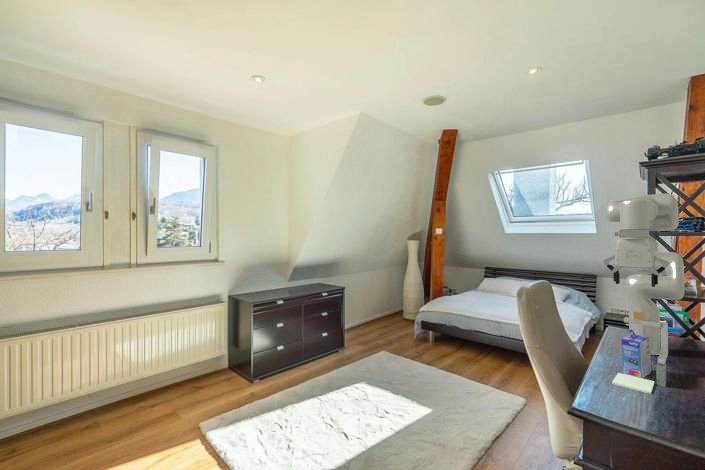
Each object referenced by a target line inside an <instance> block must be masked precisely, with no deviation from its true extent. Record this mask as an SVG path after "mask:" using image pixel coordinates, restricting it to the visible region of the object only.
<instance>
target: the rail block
mask: <svg viewBox="0 0 705 470" xmlns="http://www.w3.org/2000/svg"><path fill="white" fill-rule="evenodd" d="M655 366H656V367H655V369H656V370H655V373H656V375H655V376H656V378H655V379H656V381H655V383H656V386H659V387H666V386H667V364H666V363H665V364H660V363H658V361H657V362H656V365H655Z"/></svg>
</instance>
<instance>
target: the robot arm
mask: <svg viewBox="0 0 705 470" xmlns="http://www.w3.org/2000/svg"><path fill="white" fill-rule="evenodd" d="M605 216H606V219H607V220H608V222H611V223H619V231H615V232H614V236H616V237H619V238H618V239H617V240H616V242H615V243H616V244H615V250H614V251H615V252H614V255H612V256H610V257H607V258H605V259H603V260H602V261H603V263H604V265H605V266H606V267H607V268H608V269H609V270H610V271H611V272H612V273H613V275H612V276H613V282H615V285H619V284H620V283H621V281H620V279H621V277H620V276H621V275H620V272H619V271H620V270H621V268H628V269H629V268H630V269H632V271H633V272H636V273H635V274H631V275H628V276H627V277H626V279H625V289H626V292H627V293H626V294H627V299H628V318H634V314H633V312H642V313H644V315H645V320H650V321H657V322H661V319H660V316H661V314H660V312H661V311H660V308H659V306H658V305H657V304H656V303H655V302H654V301H652V299H656V300H657V299H659V300H670V301H679V300H681V299H683V298H684V296H685V287H686V286H685V269H684V268H685V265H684V260H683V257H682V255H681V254H679V253H677V252H674V251H659V242H658V241H657V240H656V239H655V238H654V237H653V236H651V235H650V232H664V231H665V232H666V231H668V232H669V231H674V230H676V229H677V228H678V227H679V223H680V215H679V203H678V200H677V198H676V197H675V195H674V194H672V193H656V194H655V193H654V194H645V195H644V194H641V195H637V196H635V197H631V198H627V199H621V200H615V201H611V202H609V203H608V205H607V206H606V210H605ZM612 261H614V264H615V266H613V265H612V264H611V262H612ZM631 329H632V330H633V332H634V333H635V335H639V336H645V337H649V343H650V356H655V355H659V354H660V351H661V327H654V326H647V325H640V324H633V323H628V330H631ZM633 332H631V334H633ZM628 335H630V334H629V333H628Z"/></svg>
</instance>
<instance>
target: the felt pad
mask: <svg viewBox="0 0 705 470" xmlns="http://www.w3.org/2000/svg"><path fill="white" fill-rule="evenodd" d="M655 383H656V381H654V380H650V379H647V378H638V377H634V376H630V375H626V374H623V373H620V372H617V374H616V375H615V377H614V379H613V380H612V381H611V384H612V385H614V386H618V387H622V388H626V389H628V390H629V389H630V390H633V391H638V392H642V393H645V394H648V395H652V392H653V389H654V386H655Z"/></svg>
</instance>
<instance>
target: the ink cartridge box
mask: <svg viewBox="0 0 705 470" xmlns="http://www.w3.org/2000/svg"><path fill="white" fill-rule="evenodd" d="M627 332H628V335H626V336H625V337H622V338H621V339H620V341H621V356H622V358H621V359H622V372H623V373H622V374H626V375H630V376H634V377H638V378H643V379H645V378H646V377H647V376H648V375H649V374H651V372H652V366H651V365H652V364H651V355H650V343H649V337H645V336H639V335H635V333H634V332H633V330H632V329H631V330H629V329H628V330H627ZM631 332H633V334H631ZM629 334H630V335H629Z"/></svg>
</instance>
